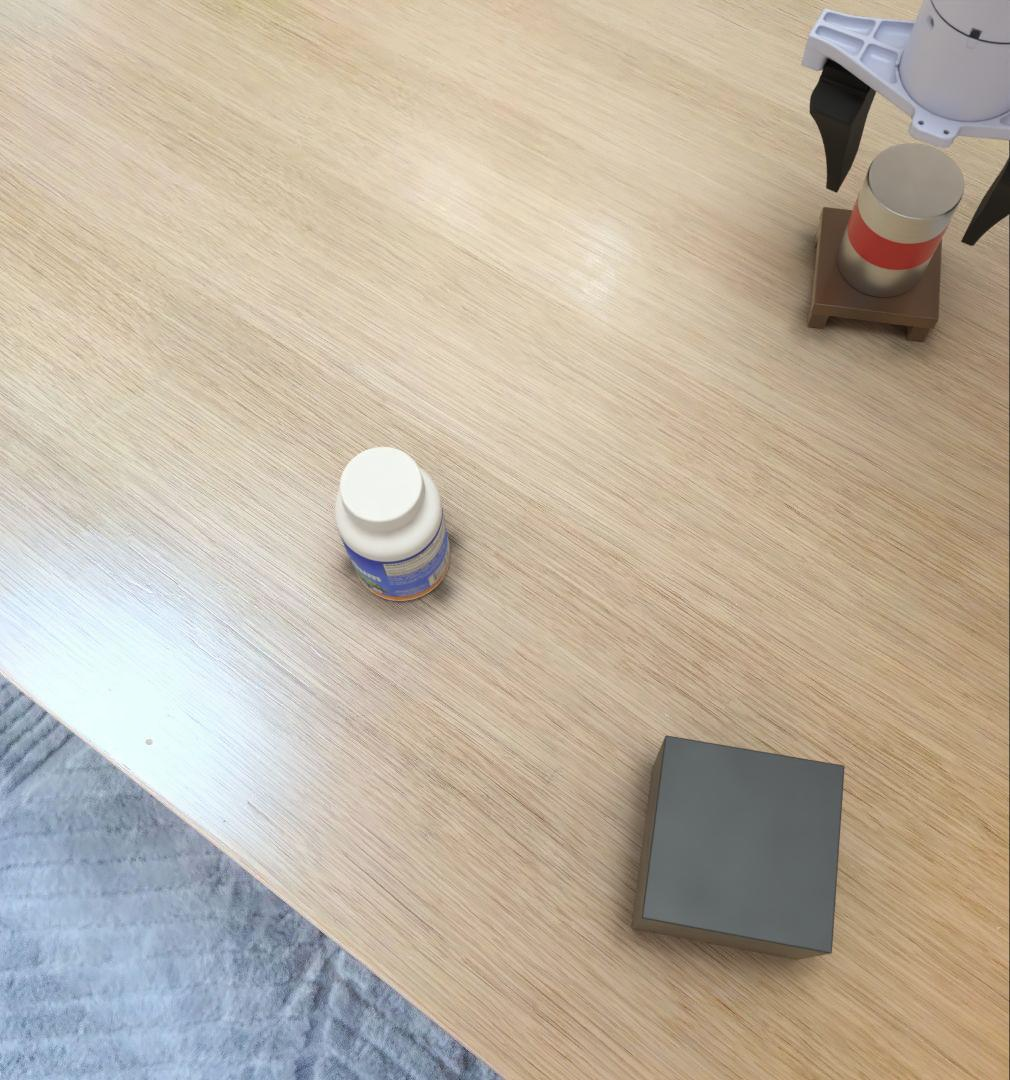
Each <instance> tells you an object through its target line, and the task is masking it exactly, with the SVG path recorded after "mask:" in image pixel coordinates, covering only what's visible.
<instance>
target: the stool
mask: <svg viewBox="0 0 1010 1080" xmlns="http://www.w3.org/2000/svg"><path fill="white" fill-rule="evenodd" d="M852 210H853V209H847V208H838V207H830V206H823V207H822V209H821V213H820V216H819V220H818V227H817V229H816V233H815V240H814V247H815V248H816V250H815V251H816V252H815V262H814V274H813V283H812V285H813V286H812V293H811V294H812V296H811V303H810V304H811V305H810V308H809V310H808V312H807V313H808V314H807V322H806V323H807V324H806V325H807V327H809V328H816V329H825V327H826V324H827V321H828V319H829V317H835V318H842V319H843V318H844V319H852V320H859V321H867V322H874V323H883V324H889V325H898V326H905V327H906V340H907V341H915V342H921V343H922V342H923V343H924V342H925V340H926V338H927V337H928V335H929V334H930V331H931V330H933V329H935V327H936V325H937V323H938V322H939V319H940V299H941V297H940V295H941V274H942V251H943V238H942V239H941V241H940V243H939V245H938V247H937V249H936V251H935V252H934V254H933V256H932V258H931V260H930V262H929V264H928V266H927V268H926V270H925V272H924V274H923V276H922V278H921V279H920V281H919V282H918V284H917V285H916V286H915V287H913V288H912V289H911V290H909V291H908V292H906V293H904V294H901V295H898V296H893V297H875V296H871V295H868V294H865V293H862V292H860V291H858V290H857V289H855V288H854V287H852V286H851V285H850V284H849V283H848V282H847V281H846V280H845V279H844V277H843V276H842V274H841V273H840V270H839V268H838V264H837V252H838V249H839V246H840V243H841V241H842V238H843V235H844V233H845V230H846V227H847V225H848V221H849V218H850V216H851V213H852Z"/></svg>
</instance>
